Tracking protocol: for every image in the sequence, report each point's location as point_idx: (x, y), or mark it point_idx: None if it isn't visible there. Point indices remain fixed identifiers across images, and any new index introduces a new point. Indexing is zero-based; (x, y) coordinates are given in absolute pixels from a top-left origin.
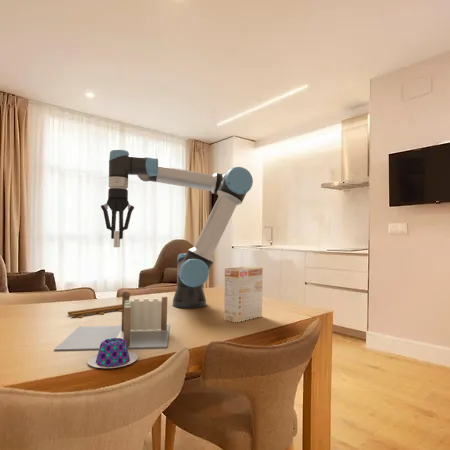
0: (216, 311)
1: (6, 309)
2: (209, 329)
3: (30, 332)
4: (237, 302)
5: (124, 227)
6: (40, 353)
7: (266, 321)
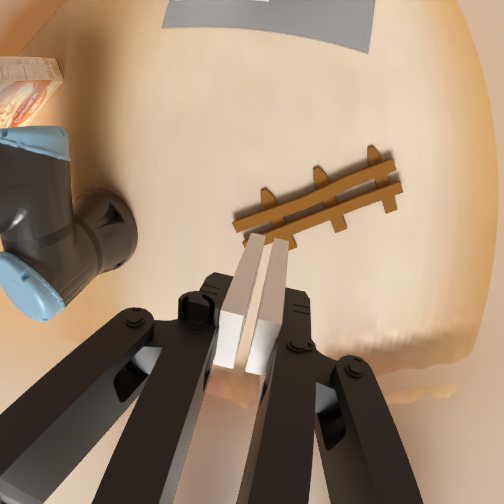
0: None
1: (486, 289)
2: (102, 13)
3: (450, 64)
4: (28, 57)
5: (142, 325)
6: None
7: None
